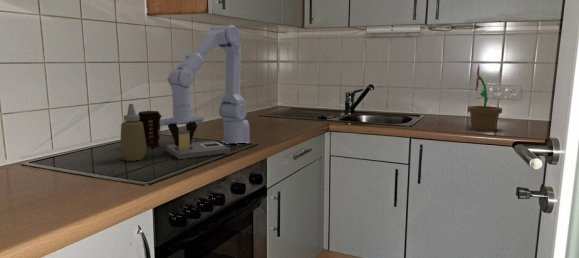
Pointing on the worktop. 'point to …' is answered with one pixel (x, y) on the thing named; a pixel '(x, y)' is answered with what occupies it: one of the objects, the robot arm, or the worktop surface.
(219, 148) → the socket panel
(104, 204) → the worktop surface
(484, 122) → the flowerpot
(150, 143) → the coffee cup
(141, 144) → the squeeze bottle
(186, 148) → the plug
